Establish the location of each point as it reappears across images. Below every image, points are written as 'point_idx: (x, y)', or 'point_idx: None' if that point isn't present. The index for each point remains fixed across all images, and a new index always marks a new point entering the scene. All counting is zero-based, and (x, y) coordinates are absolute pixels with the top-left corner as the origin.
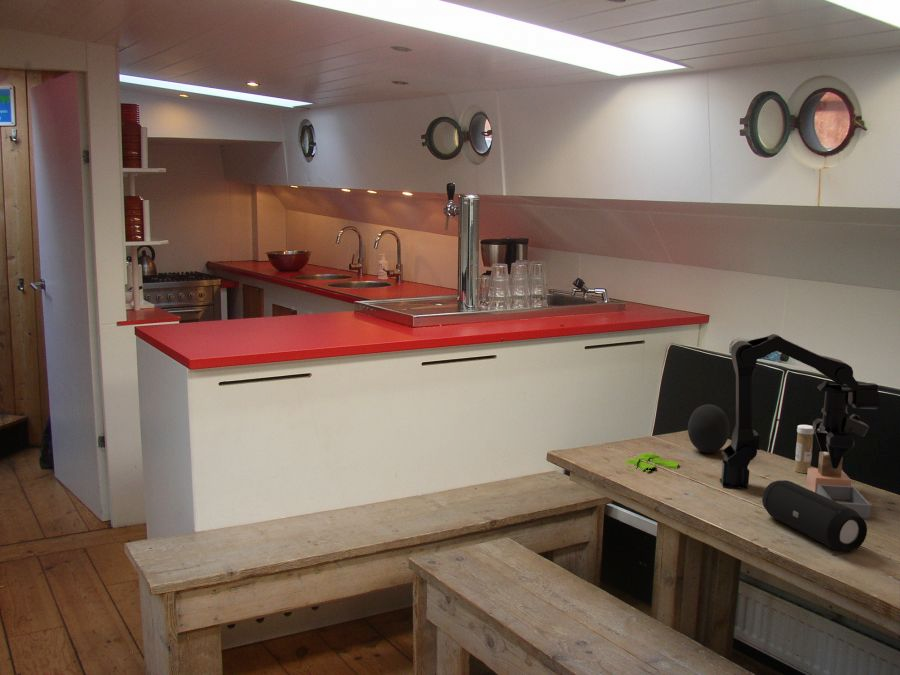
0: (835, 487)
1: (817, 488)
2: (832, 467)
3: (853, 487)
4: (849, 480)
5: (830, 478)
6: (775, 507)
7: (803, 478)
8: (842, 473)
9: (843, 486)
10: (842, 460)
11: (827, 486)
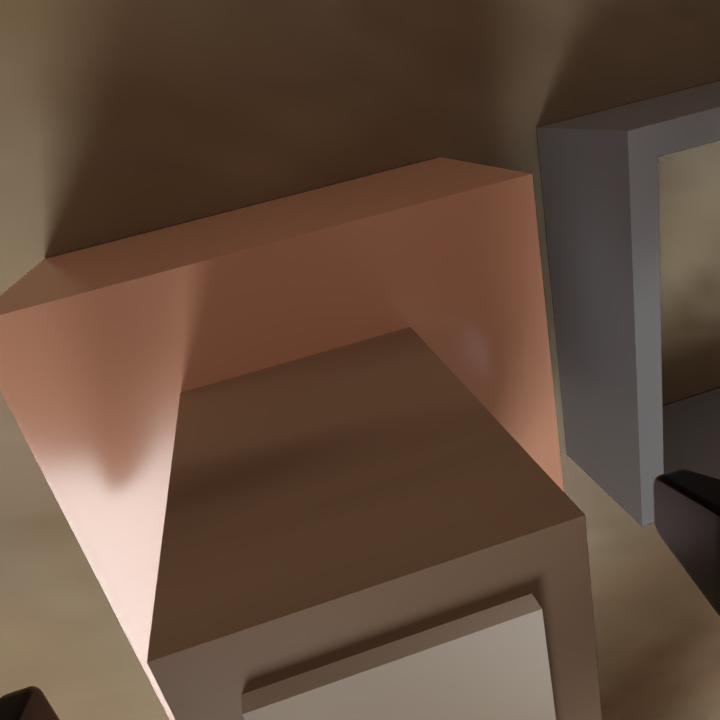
0: (654, 353)
1: (622, 499)
2: (672, 537)
3: (661, 143)
4: (531, 203)
5: (541, 447)
6: None
7: (7, 622)
8: (208, 310)
9: (646, 271)
10: (531, 463)
11: (657, 434)
